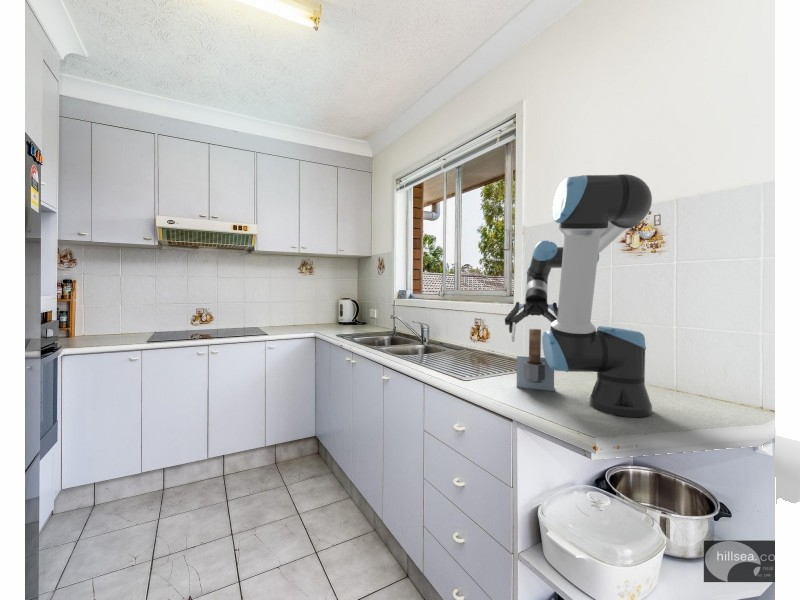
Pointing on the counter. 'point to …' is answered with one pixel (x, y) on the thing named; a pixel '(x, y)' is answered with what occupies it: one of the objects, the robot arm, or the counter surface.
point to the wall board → (525, 384)
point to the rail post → (534, 346)
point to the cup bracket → (534, 372)
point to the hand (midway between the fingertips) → (534, 340)
